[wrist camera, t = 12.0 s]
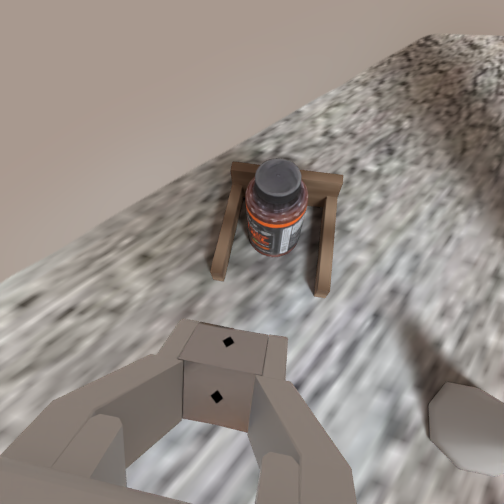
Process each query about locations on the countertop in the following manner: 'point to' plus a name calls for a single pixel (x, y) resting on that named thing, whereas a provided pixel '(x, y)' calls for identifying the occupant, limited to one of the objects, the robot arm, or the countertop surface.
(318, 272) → the walnut bay
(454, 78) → the countertop surface
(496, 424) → the flask
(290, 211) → the supplement bottle
